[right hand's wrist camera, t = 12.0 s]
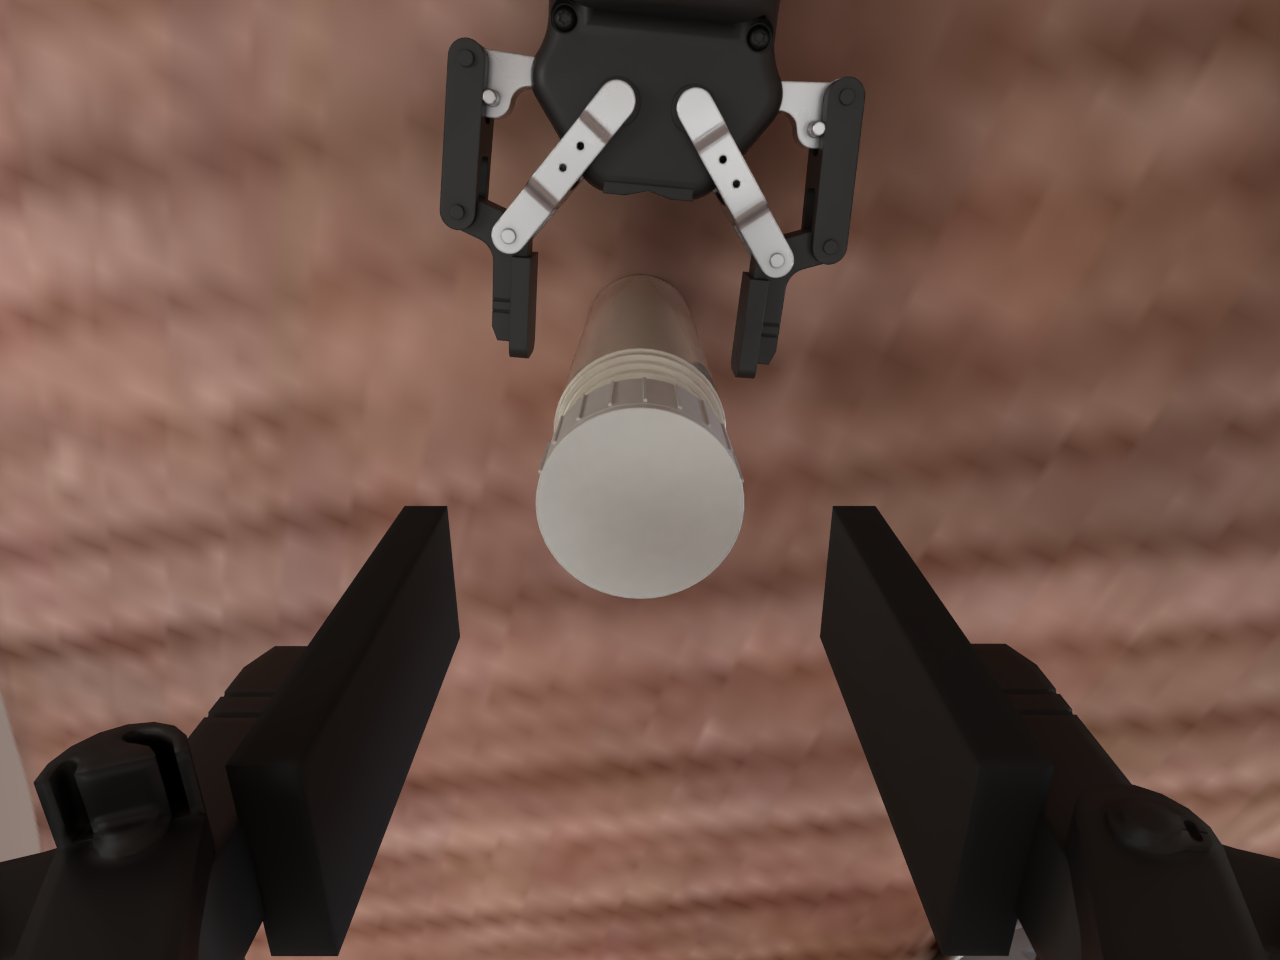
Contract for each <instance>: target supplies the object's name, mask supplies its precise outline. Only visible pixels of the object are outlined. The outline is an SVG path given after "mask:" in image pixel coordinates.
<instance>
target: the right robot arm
mask: <svg viewBox="0 0 1280 960" xmlns="http://www.w3.org/2000/svg"><path fill="white" fill-rule="evenodd" d="M459 638H460V632H459V622H458V612H457V602H456V591H455V581H454V571H453V561H452V551H451V541H450V531H449V520H448V510H447V506H404V508H403V509H402V511H401V512H400V514H399V515H398V516H397V518H396V519H395V521H394V522H393V524H392V525H391V527H390V528H389V529H388V531H387V532H386V534H385V535H384V537H383V538H382V540H381V541H380V542H379V544H378V545H377V547H376V548H375V550H374V551H373V553H372V554H371V555H370V557H369V558H368V560H367V561H366V563H365V564H364V566H363V567H362V568H361V570H360V571H359V573H358V574H357V576H356V577H355V579H354V580H353V581H352V583H351V584H350V586H349V587H348V589H347V590H346V592H345V593H344V594H343V596H342V597H341V599H340V600H339V602H338V603H337V605H336V606H335V607H334V609H333V610H332V612H331V613H330V615H329V616H328V617H327V619H326V620H325V622H324V623H323V625H322V626H321V628H320V629H319V630H318V632H317V633H316V635H315V636H314V638H313V639H312V641H311V642H310V643H309V645H308V646H275V647H273V648H272V649H270V650H269V651H267V652H266V653H264V654H263V655H261V656H260V657H258V658H257V659H255V660H254V661H253V662H251V663H250V664H248V665H247V666H245V667H244V668H243V669H242V670H241V672H240V673H239V674H238V676H237V677H236V678H235V679H234V681H233V682H232V683H231V684H230V686H229V687H228V688H227V689H226V691H225V695H224V697H220V698H219V700H218V701H217V702H216V703H215V705H214V706H213V707H212V708H211V710H210V711H209V715H208V717H204V719H203V720H202V721H201V722H200V724H199V725H198V726H197V727H196V729H195V730H194V731H193V732H192V734H191V735H190V736H189V738H188V739H187V735H185V734H184V733H183V732H182V731H180V730H179V729H178V728H177V727H175V726H173V725H168V724H162V723H157V722H149V723H138V724H128V725H124V726H121V727H117V728H114V729H111V730H107V731H104V732H100V733H98V734H96V735H94V736H92V737H90V738H88V739H85V740H83V741H81V742H79V743H77V744H75V745H73V746H71V747H70V748H68V749H67V750H66V751H64V752H63V753H62V754H60V755H59V756H58V757H56V758H55V759H54V760H52V761H51V762H50V763H48V764H47V766H46V767H45V768H44V770H43V771H42V772H41V773H40V775H39V776H38V777H37V779H36V780H35V781H34V785H35V788H36V791H37V794H38V796H39V799H40V802H41V805H42V808H43V810H44V813H45V816H46V819H47V821H48V824H49V827H50V830H51V833H52V835H53V838H54V841H55V844H56V846H57V848H56V849H53V850H49V851H46V852H42V853H38V854H34V855H29V856H25V857H21V858H17V859H12V860H8V861H4V862H0V960H245V955H246V953H247V951H248V949H249V947H250V945H251V943H252V941H253V939H254V937H255V935H256V933H257V931H258V929H259V927H260V925H261V923H262V921H263V924H264V928H265V932H266V936H267V940H268V944H269V948H270V952H271V956H338V954H339V952H340V949H341V946H342V944H343V941H344V939H345V936H346V933H347V931H348V928H349V926H350V923H351V920H352V918H353V915H354V913H355V910H356V907H357V905H358V902H359V899H360V897H361V894H362V892H363V889H364V886H365V884H366V881H367V879H368V876H369V873H370V871H371V868H372V865H373V863H374V860H375V858H376V855H377V852H378V850H379V847H380V845H381V842H382V839H383V837H384V834H385V831H386V829H387V826H388V824H389V821H390V818H391V816H392V813H393V811H394V808H395V805H396V803H397V800H398V798H399V795H400V792H401V790H402V787H403V784H404V782H405V779H406V777H407V774H408V771H409V769H410V766H411V764H412V761H413V758H414V756H415V753H416V750H417V748H418V745H419V743H420V740H421V737H422V735H423V732H424V730H425V727H426V724H427V722H428V719H429V716H430V714H431V711H432V709H433V706H434V703H435V701H436V698H437V696H438V693H439V690H440V688H441V685H442V683H443V680H444V677H445V675H446V672H447V669H448V667H449V664H450V662H451V659H452V656H453V654H454V651H455V649H456V646H457V643H458V641H459ZM820 638H821V641H822V643H823V646H824V649H825V651H826V654H827V656H828V659H829V662H830V664H831V667H832V669H833V672H834V675H835V677H836V680H837V683H838V685H839V688H840V690H841V693H842V696H843V698H844V701H845V703H846V706H847V709H848V711H849V714H850V716H851V719H852V722H853V724H854V727H855V730H856V732H857V735H858V737H859V740H860V743H861V745H862V748H863V750H864V753H865V756H866V758H867V761H868V764H869V766H870V769H871V771H872V774H873V777H874V779H875V782H876V784H877V787H878V790H879V792H880V795H881V798H882V800H883V803H884V805H885V808H886V811H887V813H888V816H889V818H890V821H891V824H892V826H893V829H894V831H895V834H896V837H897V839H898V842H899V845H900V847H901V850H902V852H903V855H904V858H905V860H906V863H907V865H908V868H909V871H910V873H911V876H912V879H913V881H914V884H915V886H916V889H917V892H918V894H919V897H920V899H921V902H922V905H923V907H924V910H925V913H926V915H927V918H928V920H929V923H930V926H931V928H932V931H933V933H934V936H935V939H936V941H937V944H938V946H939V949H940V952H939V953H938V954H937V956H936V957H935V958H934V959H933V960H1280V859H1278V858H1274V857H1269V856H1265V855H1261V854H1257V853H1252V852H1248V851H1244V850H1239V849H1235V848H1232V847H1229V846H1226V845H1222V844H1221V843H1220V841H1219V840H1218V838H1217V837H1216V835H1215V834H1214V832H1213V831H1212V829H1211V828H1210V827H1209V826H1208V825H1207V824H1206V823H1205V822H1204V821H1202V820H1201V819H1200V818H1199V817H1198V816H1197V815H1195V814H1194V813H1193V812H1192V811H1191V810H1189V809H1188V808H1186V807H1185V806H1183V805H1181V804H1179V803H1177V802H1175V801H1174V800H1172V799H1170V798H1168V797H1166V796H1165V795H1163V794H1160V793H1157V792H1154V791H1151V790H1148V789H1145V788H1142V787H1139V786H1136V785H1132V784H1131V783H1130V782H1129V780H1128V779H1127V778H1126V777H1125V775H1124V774H1123V773H1122V772H1121V770H1120V769H1119V768H1118V767H1117V765H1116V764H1115V763H1114V762H1113V760H1112V759H1111V758H1110V757H1109V755H1108V754H1107V753H1106V751H1105V750H1104V749H1103V748H1102V746H1101V745H1100V744H1099V743H1098V741H1097V740H1096V739H1095V738H1094V736H1093V735H1092V734H1091V733H1090V731H1089V730H1088V729H1087V728H1086V726H1085V725H1084V724H1083V723H1082V721H1081V720H1080V719H1079V718H1078V716H1077V715H1073V714H1072V709H1071V707H1070V706H1069V705H1068V704H1067V702H1066V701H1065V700H1064V699H1063V697H1062V696H1061V695H1060V694H1056V689H1055V687H1054V686H1053V685H1052V684H1051V682H1050V681H1049V680H1048V679H1047V677H1046V676H1045V675H1044V674H1043V672H1042V671H1041V670H1040V669H1039V667H1038V666H1037V665H1036V664H1035V663H1033V662H1032V661H1030V660H1029V659H1027V658H1026V657H1024V656H1023V655H1021V654H1020V653H1018V652H1017V651H1015V650H1014V649H1012V648H1011V647H1010V646H1008V645H1007V644H971V643H970V642H969V641H968V639H967V638H966V636H965V635H964V633H963V632H962V630H961V629H960V628H959V626H958V625H957V623H956V622H955V620H954V619H953V617H952V616H951V615H950V613H949V612H948V610H947V609H946V607H945V606H944V605H943V603H942V602H941V600H940V599H939V597H938V596H937V594H936V593H935V592H934V590H933V589H932V587H931V586H930V584H929V583H928V581H927V580H926V579H925V577H924V576H923V574H922V573H921V571H920V570H919V568H918V567H917V566H916V564H915V563H914V561H913V560H912V558H911V557H910V555H909V554H908V553H907V551H906V550H905V548H904V547H903V545H902V544H901V542H900V541H899V540H898V538H897V537H896V535H895V534H894V532H893V531H892V529H891V528H890V527H889V525H888V524H887V522H886V521H885V519H884V518H883V516H882V515H881V514H880V512H879V511H878V509H877V508H876V506H833V510H832V520H831V530H830V541H829V551H828V561H827V571H826V581H825V591H824V602H823V612H822V622H821V632H820Z"/></svg>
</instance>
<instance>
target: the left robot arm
mask: <svg viewBox="0 0 1280 960" xmlns="http://www.w3.org/2000/svg"><path fill="white" fill-rule="evenodd" d="M779 2H780V0H549V18H548V26H547V31H546V34H545V38H544V40H543V43H542V45H541V47H540V49H539V50H538V52H537V54H536V56H535V57H533V56H527V55H521V54H515V53H509V52H503V51H497V50H491V49H486V48H484V47H483V46H481V45H480V44H479V43H477V42H476V41H475V40H473V39H470V38H460V39H457V40H456V41H455V42H454V43H453V44H452V45H451V47H450V49H449V52H448V65H447V84H446V103H445V122H444V141H443V160H442V178H441V197H440V215H441V218H442V220H443V222H444V223H445V224H446V225H447V226H448V227H450V228H452V229H455V230H461V231H463V232H466V233H468V234H470V235H472V236H474V237H476V238H478V239H480V240H482V241H483V242H485V243H486V244H487V245H488V247H489V248H490V250H491V252H492V255H493V312H492V327H493V330H494V332H495V335H496V338H497V340H502V341H509V355H510V357H519V358H529V357H530V355H531V353H532V352H533V349H534V342H535V320H536V294H537V268H538V252H532V240H533V239H534V238H535V236H536V235H537V234H538V233H539V232H540V230H541V229H542V228H543V227H544V225H545V224H546V223H547V222H548V221H549V219H550V218H551V217H552V216H553V215H554V213H555V212H556V211H557V210H558V209H559V207H560V206H561V205H562V204H563V203H564V202H565V201H566V200H567V198H568V197H569V196H570V195H571V194H572V192H573V191H574V190H575V189H576V188H577V186H578V185H579V184H580V183H581V181H582V180H583V179H585V180H586V181H587V182H588V183H589V184H591V185H592V186H593V187H595V188H597V189H599V190H601V191H603V193H607V194H618V195H629V194H634V193H639V192H645V191H650V192H653V193H655V194H658V195H661V196H663V197H666V198H668V199H672V200H683V201H692V200H693V199H698V198H700V197H703V196H705V195H707V194H709V193H710V192H711V191H712V192H713V193H714V195H715V197H716V199H717V201H718V202H719V204H720V206H721V208H722V210H723V211H724V213H725V215H726V216H727V218H728V220H729V221H730V222H731V224H732V226H733V228H734V229H735V231H736V233H737V235H738V236H739V238H740V240H741V242H742V244H743V245H744V247H745V249H746V251H747V252H748V254H749V256H750V258H751V261H750V269H749V272H743V275H742V282H741V290H740V297H739V305H738V312H737V320H736V328H735V335H734V343H733V350H732V359H731V368H732V371H733V373H734V375H735V377H741V378H753V379H754V377H755V374H756V369H757V364H769V363H770V361H771V359H772V358H773V356H774V354H775V352H776V348H777V341H778V335H779V328H780V321H781V315H782V308H783V302H784V295H785V289H786V285H787V282H788V281H789V279H790V278H791V276H792V275H793V274H795V273H796V272H798V271H800V270H802V269H806V268H809V267H813V266H817V265H821V264H827V265H829V264H834V263H837V262H838V261H840V260H841V259H842V258H843V257H844V255H845V253H846V250H847V244H848V236H849V227H850V219H851V210H852V202H853V194H854V185H855V177H856V168H857V160H858V151H859V143H860V134H861V126H862V118H863V109H864V101H865V90H864V87H863V85H862V83H861V82H860V81H859V80H858V79H856V78H854V77H843V78H839V79H836V80H834V81H831V82H796V81H781V79H780V76H779V73H778V70H777V67H776V62H775V55H774V41H775V32H776V25H777V17H778V10H779ZM527 89H533V92H534V94H535V96H536V98H537V100H538V102H539V103H540V105H541V107H542V108H543V110H544V112H545V114H546V115H547V117H548V119H549V120H550V122H551V124H552V126H553V127H554V129H555V131H556V132H557V134H558V136H559V138H560V139H561V140H560V142H559V143H558V144H557V145H556V147H555V148H554V149H553V150H552V152H551V153H550V154H549V155H548V157H547V158H546V159H545V160H544V162H543V163H542V164H541V165H540V167H539V168H538V169H537V170H536V172H535V173H534V174H533V175H532V177H531V178H530V179H529V181H528V182H527V184H526V186H525V187H524V189H523V190H522V191H521V192H520V194H519V195H518V196H517V197H516V199H515V200H514V201H513V202H512V204H511V205H510V206H509V207H508V209H506V208H504V207H501V206H499V205H497V204H495V203H493V202H491V201H489V200H488V192H489V179H490V165H491V152H492V138H493V125H494V119H504V118H506V117H507V116H509V115H510V114H511V112H512V110H513V108H514V104H515V100H516V98H517V96H518V95H519V94H520V93H521V92H522V91H524V90H527ZM778 113H781V114H783V115H785V116H786V117H787V118H788V119H789V121H790V122H791V125H792V135H793V139H794V141H795V142H796V144H797V145H798V146H800V147H802V148H804V149H809V154H808V165H807V175H806V185H805V195H804V206H803V216H802V226H801V230H798V231H794V232H790V233H787V234H782V232H781V230H780V228H779V226H778V225H777V223H776V221H775V219H774V217H773V215H772V213H771V211H770V209H769V207H768V204H767V201H766V199H765V197H764V195H763V193H762V191H761V190H760V188H759V186H758V184H757V182H756V180H755V178H754V177H753V175H752V173H751V171H750V169H749V167H748V165H747V164H746V162H745V160H744V158H743V155H744V154H745V153H746V152H747V151H748V150H749V148H750V147H751V146H752V145H753V144H754V142H755V141H756V140H757V139H758V138H759V137H760V135H761V134H762V133H763V132H764V131H765V129H766V128H767V127H768V126H769V125H770V124H771V122H772V121H773V120H774V119H775V117H776V116H777V114H778Z"/></svg>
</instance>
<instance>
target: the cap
mask: <svg viewBox="0 0 1280 960" xmlns="http://www.w3.org/2000/svg"><path fill="white" fill-rule="evenodd" d="M538 473H540V474H541V475H540V478H539V481H538V486H537V492H536V513H537V520H538V524H539V528H540V532H541V534H542V536H543V539H544V541H545V543H546V545H547V547H548V548H549V550H550V552H551V553H552V555H553V556H554V557H555V559H556V560H557V561H558V562H559V564H560V565H561V566H562V567H563V568H564V569H565V570H566V571H567V572H568V573H570V574H571V575H572V576H574V577H575V578H576V579H578V580H579V581H581V582H582V583H584V584H586V585H587V586H589V587H591V588H594V589H596V590H598V591H601V592H603V593H607V594H610V595H613V596H619V597H624V598H636V599H643V598H655V597H661V596H666V595H670V594H673V593H677V592H679V591H682V590H684V589H686V588H689V587H691V586H692V585H694V584H696V583H698V582H699V581H701V580H702V579H704V578H705V577H706V576H708V575H709V574H710V573H711V572H712V571H714V570H715V569H716V568H717V567H718V566H719V565H720V564H721V562H722V561H723V560H724V559H725V557H726V556H727V555H728V553H729V552H730V550H731V548H732V547H733V545H734V543H735V541H736V539H737V536H738V534H739V531H740V528H741V524H742V521H743V513H744V492H743V486H742V482H744V481H743V477H742V474H741V471H740V468H739V465H738V462H737V459H736V456H735V453H734V451H733V449H732V446H731V443H730V440H729V437H728V434H727V431H726V428H725V425H724V423H722V424H721V423H720V421H719V420H718V418H717V417H716V415H715V414H714V413H713V412H712V411H711V409H710V408H709V407H708V406H707V405H706V402H705V401H704V400H702V401H701V400H700V399H699V398H698V397H696V396H695V395H693V394H692V393H690V392H689V391H687V390H685V389H683V388H681V387H679V386H678V384H675V385H673V384H670V383H667V382H663V381H658V380H653V379H647V378H646V377H643V379H627V380H622V381H616V382H614V381H611V383H610V384H607V385H604V386H602V387H600V388H597V389H595V390H593V391H592V392H590V393H588V394H587V395H585V394H583V395H582V397H581V399H580V400H579V401H578V402H576V403H575V404H574V405H573V406H572V407H571V408H570V409H569V411H568V412H567V413H566V414H565V415H564V416H561V417H560V419H559V422H558V425H557V428H556V430H555V432H554V434H553V437H552V441H551V443H548V444H547V447H546V450H545V453H544V456H543V459H542V462H541V465H540V468H539V472H538Z"/></svg>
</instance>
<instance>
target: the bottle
mask: <svg viewBox="0 0 1280 960" xmlns="http://www.w3.org/2000/svg"><path fill="white" fill-rule="evenodd" d="M643 377H646V378H647V379H653V380H658V381H663V382H667V383H670V384H673V385H675V384H678V386H679V387H681V388H683V389H685V390H687V391H689V392H690V393H692V394H693V395H695V396H696V397H698V398H699V399H700V400H701V401H702V400H704V401H705V402H706V405H707V406H708V407H709V408H710V409H711V411H712V412H713V413H714V414H715V415H716V417H717V418H718V420H719V421H720V423H721V424H722V423H724V425H725V428H726V419H725V413H724V410H723V406H722V403H721V400H720V397H719V394H718V391H717V388H716V385H715V383H714V380H713V377H712V374H711V371H710V368H709V365H708V362H707V359H706V356H705V354H704V351H703V348H702V345H701V342H700V339H699V336H698V333H697V330H696V327H695V325H694V322H693V319H692V316H691V313H690V310H689V308H688V305H687V303H686V301H685V300H684V298H683V297H682V295H681V294H680V293H679V292H678V291H677V290H676V289H675V288H674V287H673V286H671V285H670V284H669V283H667V282H665V281H663V280H661V279H659V278H656V277H652V276H647V275H633V276H628V277H624V278H621V279H619V280H617V281H615V282H613V283H611V284H610V285H609V286H607V287H606V288H605V289H604V290H603V291H602V292H601V293H600V294H599V295H598V297H597V298H596V300H595V301H594V303H593V305H592V307H591V310H590V313H589V316H588V319H587V322H586V325H585V328H584V330H583V333H582V336H581V339H580V342H579V345H578V348H577V351H576V354H575V357H574V359H573V362H572V365H571V368H570V371H569V374H568V377H567V380H566V383H565V386H564V389H563V391H562V394H561V397H560V400H559V403H558V406H557V409H556V413H555V419H554V432H555V430H556V428H557V425H558V422H559V419H560V417H561V416H564V415H565V414H566V413H567V412H568V411H569V409H570V408H571V407H572V406H573V405H574V404H575V403H576V402H578V401H579V400H580V399H581V397H582V395H583V394H585V395H587V394H588V393H590V392H592V391H593V390H595V389H597V388H600V387H602V386H604V385H607V384H610V383H611V381H614V382H616V381H622V380H627V379H643Z"/></svg>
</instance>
